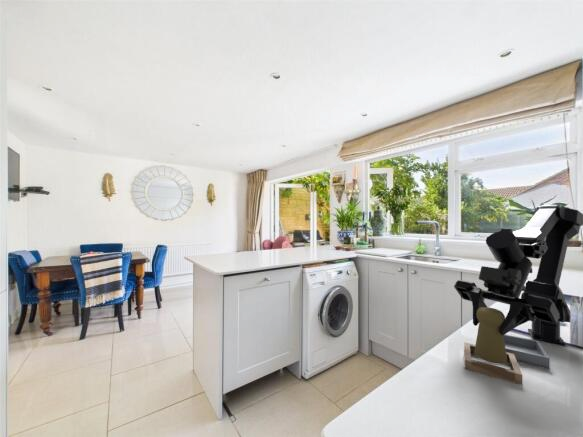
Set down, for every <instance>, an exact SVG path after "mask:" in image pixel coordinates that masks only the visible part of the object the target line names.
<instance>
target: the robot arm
mask: <svg viewBox="0 0 583 437" xmlns="http://www.w3.org/2000/svg"><path fill="white" fill-rule="evenodd" d="M582 226H583V213H582V212H581V211H579V210H578V209H576V208H575V209H574V208H569V207H566V206H564V205H560V204H541V205H538V206H537V207H536V211H535V213H534V214H533V215H532V217H531V218H530V219H529V220H528V222H527V223H526V224H525V225H524V226H523V228H521V229H518V230H515V231H513V229H512V228H503V227H502V228H500V230H499V231H495V232H494V233H492V234H490V235H488V236H487V237H486V239H485V243H486V246H487V247H488V248H489V251H490V252H491V254H492V256H493V257H494V260H496V261H497V262H499V265H498V267H490V266H483V265H481V267H480V272H479V276H478V280H480V281H483V286H484V288H487V290H485V289H483V288H480V287H478V286H477V284H476V283H475V282H474V281H469V280H464V279H459V280H457V281H456V282H455V283H454V285H453V288H454V289H455V291H456V292H457V293H458V295H459V296H460V297H461V299H463V300H465V301H468V302H471V304H472V324H473V326H475V327H477V326H479V320H478V319H477V310H478V309H479V308H481V307H488V306H487V304H486V303H485V301H486V300H490V301H492V302H496V303H502V304H505V305H509V309H508V312H507V313H506V316H505V320H504V322H503V324H502V326H501V329H500V334H501V335H505V334H507V333H509V332H511V331H513V330H514V329H515V328H517V327H519V326H521V325H523V324H525V323H528V322H531V328H528V329H527V331H528V333H529V335H530V337H531V339H533V340H537V341H544V342H549V343H555V344H558V345H566V341H565V340H564V339H563V338H562V337H561V323H562V324H563V323H571V322H572V318H571V317H572V315H571V310H570V307H569V305H568V304H567V302H566V300H565V299H566V296H565V294H564V293H563V291H562V289H561V287H560V286H559V285H560V280H561V276H562V272H563V267H564V263H565V258H566V254H567V250H568V245H569V241H570V240H571V239H572V238H573V237H575V236H577V235H578V234H579V232H580V231H581V230H580V229H581V227H582ZM530 259H538V260H539V259H540V261H539V266H538V269H537V274H536V278H534V279H533V280H528V279H527V278H528V276H529V274H533V268H532V267H533V263H532V261H531V260H530ZM527 280H528V281H527ZM526 281H527V282H526ZM520 295H521V296H520Z"/></svg>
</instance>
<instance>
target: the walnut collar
mask: <svg viewBox="0 0 583 437" xmlns="http://www.w3.org/2000/svg"><path fill="white" fill-rule="evenodd" d="M475 346H476V344H472V343H468V342H464V347H463V348H464V349H463V350H464V369H465V370H469V371H471V372H475V373H478V374H481V375H486V376H489V377H493V378H496V379H500V380H504V381H507V382H509V383H514V384H518V385H521V386H522V385H523V373H522V371H521V369H520V366H519V362H517V360H516V358H515V355H514V354H512V353H508V352H506V355H507V361H508V362H507V363H506V364H508V367H509V368H506V367H502V366H498V365H494V364H490V363H487V362H483V361H478V360H476V359H472V358H471V355H475V353H474V352H475ZM475 356H476V355H475Z"/></svg>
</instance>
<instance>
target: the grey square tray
mask: <svg viewBox="0 0 583 437" xmlns="http://www.w3.org/2000/svg"><path fill="white" fill-rule="evenodd" d="M503 336H504V342H505V348H506V352H508V353H512V354H514V355H515V358H516V360H517V363H523V364H526V365H530V366H535V367H539V368H543V369H548V370H550V364H551V362H550V361H551V360H550V358H551V357H550V356H549V355H548V353H547V352H546V350H545V349H544V347H543V345H542V344H541V343H540V340H538V339H533V338H531V339H530V338H527V337H521V336H516V335H513V334H511V335H510V334H507V333H506V334H505V335H503Z"/></svg>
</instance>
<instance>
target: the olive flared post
mask: <svg viewBox="0 0 583 437" xmlns="http://www.w3.org/2000/svg"><path fill="white" fill-rule="evenodd" d="M505 318H506V316H505V314H504V313H503V311H502V310H499V309H497V308H493V307H489V306H487V307H481V308H479V309H478V310H477V319H478V320H479V323H478V328H477V335H476V341H475V345H476V346H475V352H474V353H475V356H476V357H478V358H479V359H481V360H483V361H485V362H488V363H492V364H496V365H505V364H508V363H507V362H508V361H507V355H506V348H505V342H504V336H503V335H501V334H500V329H501V326H502V324H503V322H504V320H505Z"/></svg>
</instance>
